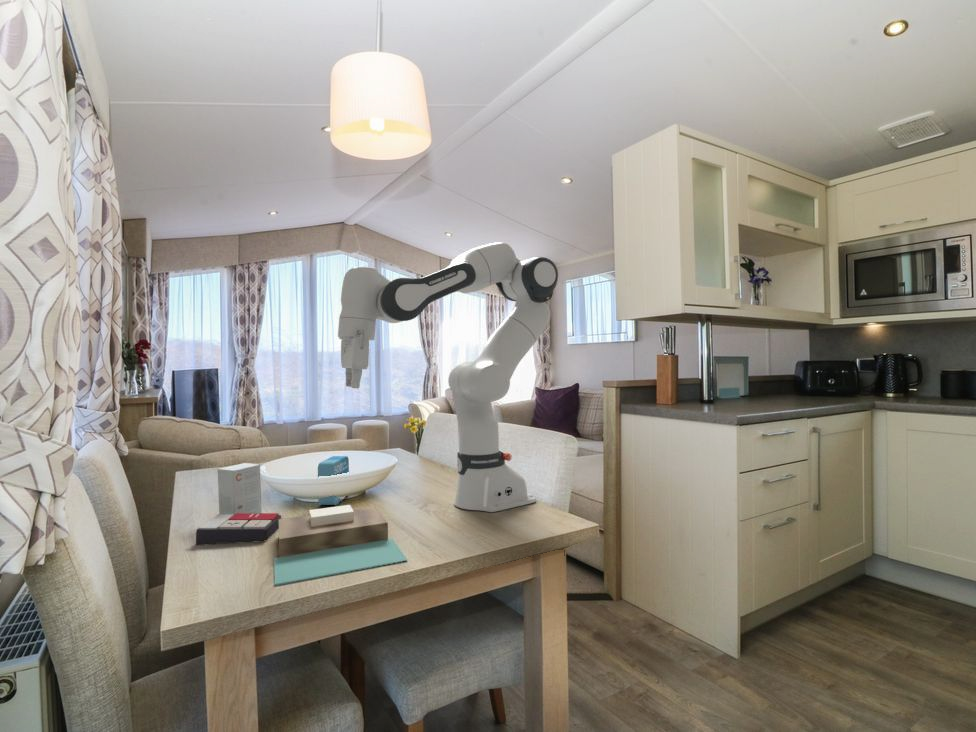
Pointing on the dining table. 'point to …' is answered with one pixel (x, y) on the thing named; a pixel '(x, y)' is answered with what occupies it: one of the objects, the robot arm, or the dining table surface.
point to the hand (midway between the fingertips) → (352, 387)
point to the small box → (239, 489)
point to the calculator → (238, 528)
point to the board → (331, 532)
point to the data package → (329, 468)
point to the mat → (336, 561)
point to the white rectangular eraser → (331, 515)
